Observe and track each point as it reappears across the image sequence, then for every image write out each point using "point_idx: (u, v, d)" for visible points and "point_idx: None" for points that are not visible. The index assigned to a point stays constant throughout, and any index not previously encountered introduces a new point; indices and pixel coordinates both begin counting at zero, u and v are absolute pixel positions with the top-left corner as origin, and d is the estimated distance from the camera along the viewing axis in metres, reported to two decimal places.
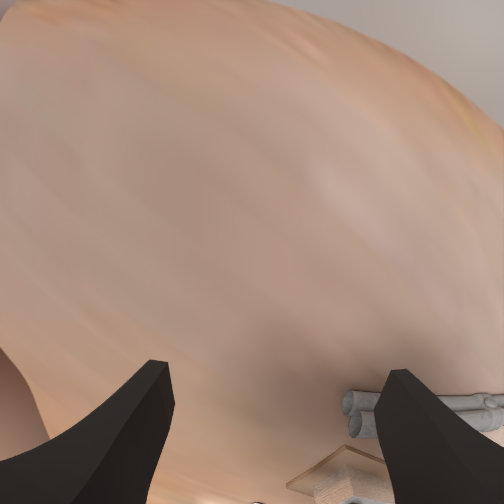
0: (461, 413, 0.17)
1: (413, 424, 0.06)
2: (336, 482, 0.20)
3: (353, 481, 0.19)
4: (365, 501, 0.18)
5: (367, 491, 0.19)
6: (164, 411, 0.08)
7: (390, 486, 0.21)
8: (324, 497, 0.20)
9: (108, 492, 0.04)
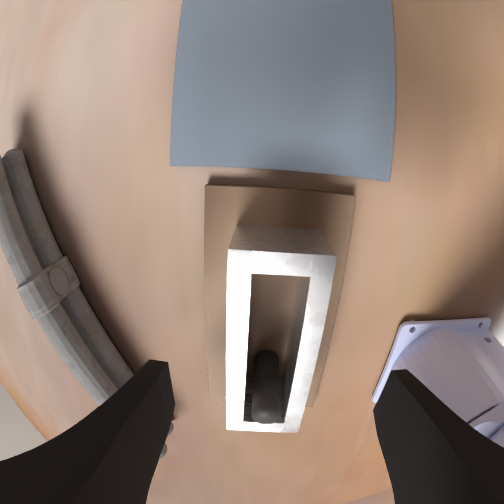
0: None
1: (413, 424, 0.06)
2: None
3: None
4: (234, 407, 0.15)
5: None
6: (164, 411, 0.08)
7: None
8: None
9: (108, 492, 0.04)
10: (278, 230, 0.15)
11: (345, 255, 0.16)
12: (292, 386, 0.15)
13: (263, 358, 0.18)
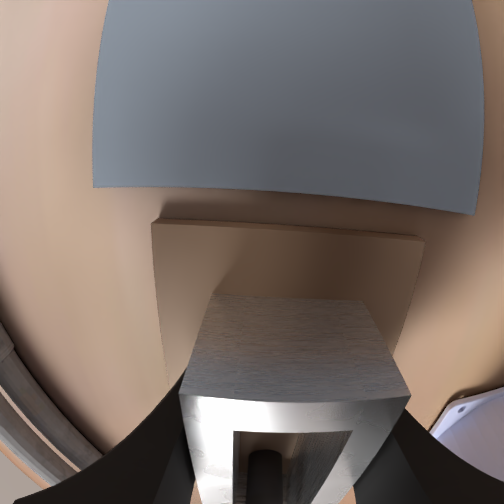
0: None
1: None
2: None
3: None
4: None
5: None
6: None
7: None
8: None
9: None
10: (289, 311, 0.08)
11: (396, 336, 0.09)
12: None
13: (260, 464, 0.11)
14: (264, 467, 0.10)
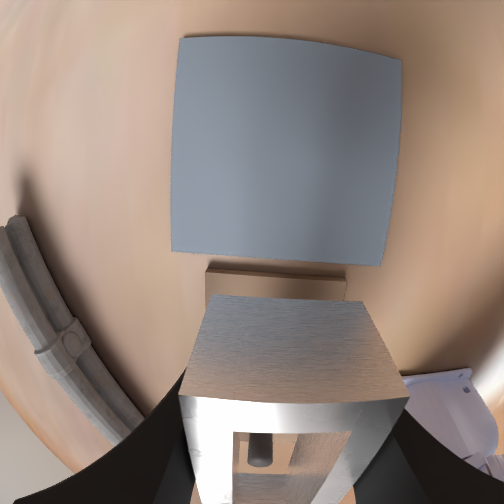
0: None
1: None
2: None
3: None
4: None
5: None
6: None
7: None
8: None
9: None
10: (288, 312, 0.08)
11: None
12: None
13: None
14: None
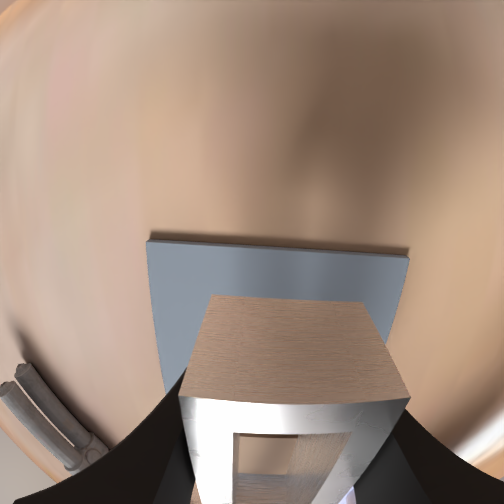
0: None
1: None
2: None
3: None
4: None
5: None
6: None
7: None
8: None
9: None
10: (288, 312, 0.08)
11: None
12: None
13: None
14: None
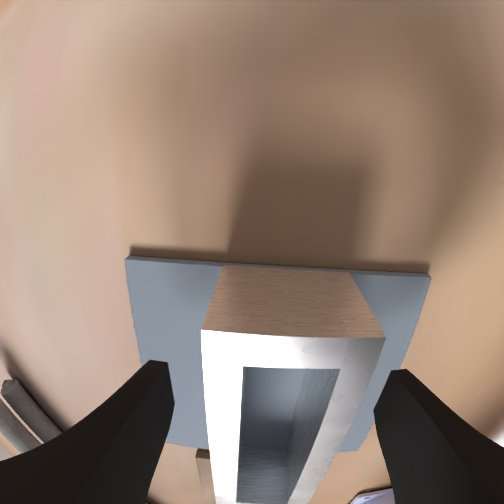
0: None
1: (413, 424, 0.06)
2: None
3: None
4: (224, 492, 0.10)
5: None
6: (164, 411, 0.08)
7: None
8: None
9: (108, 492, 0.04)
10: (287, 277, 0.10)
11: None
12: (300, 477, 0.09)
13: None
14: None
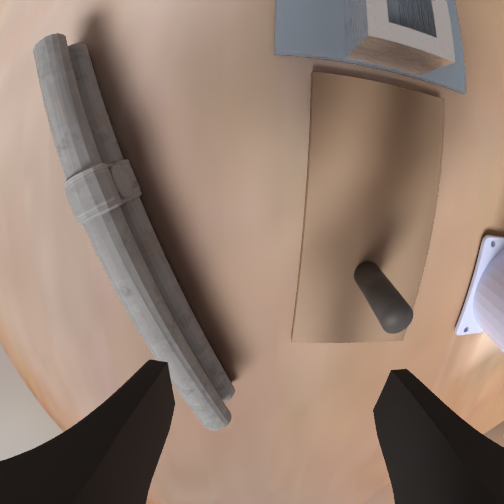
0: None
1: (413, 424, 0.06)
2: (380, 58, 0.11)
3: (355, 38, 0.11)
4: None
5: (359, 1, 0.09)
6: (164, 411, 0.08)
7: None
8: (417, 61, 0.10)
9: (108, 492, 0.04)
10: None
11: (440, 153, 0.14)
12: None
13: (369, 267, 0.16)
14: (373, 268, 0.15)
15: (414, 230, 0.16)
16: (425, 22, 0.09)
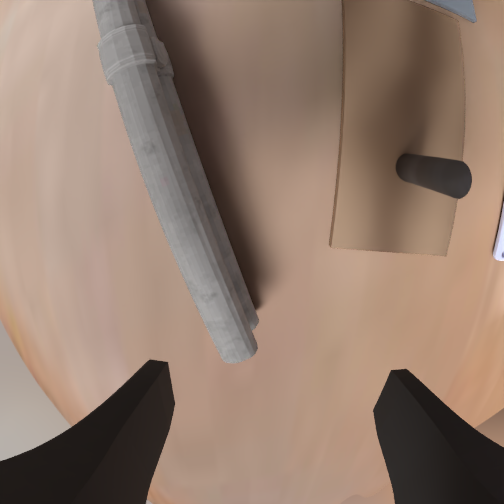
0: None
1: (413, 424, 0.06)
2: None
3: None
4: None
5: None
6: (164, 411, 0.08)
7: None
8: None
9: (108, 492, 0.04)
10: None
11: (462, 63, 0.12)
12: None
13: (412, 154, 0.13)
14: (416, 155, 0.13)
15: (448, 128, 0.13)
16: None
